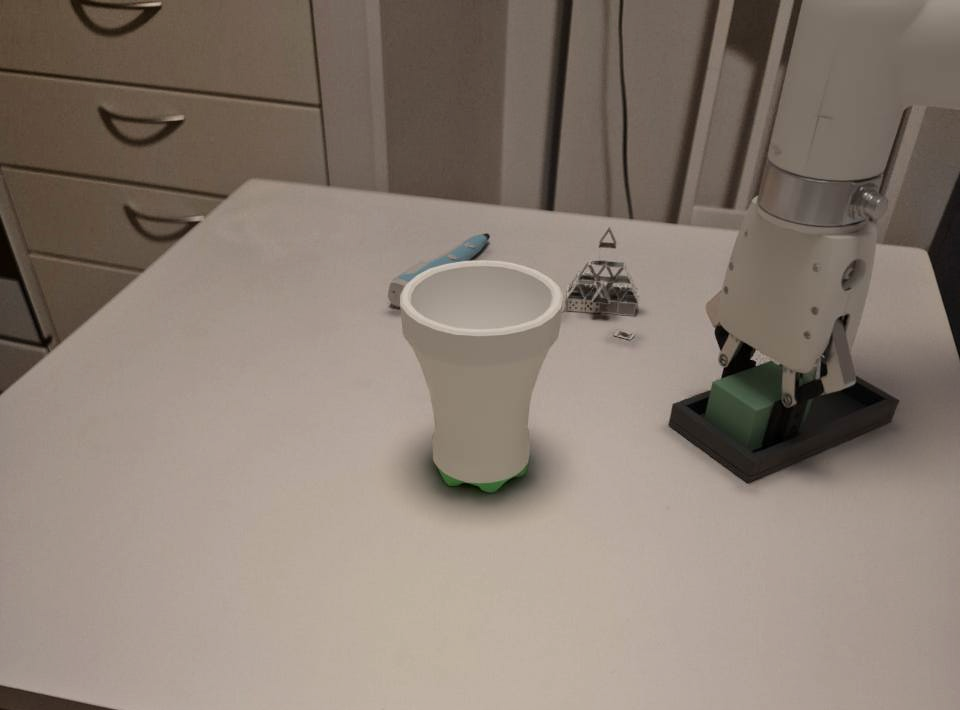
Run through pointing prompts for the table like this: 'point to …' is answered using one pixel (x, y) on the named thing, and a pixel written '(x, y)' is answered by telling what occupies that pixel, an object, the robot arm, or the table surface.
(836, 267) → the robot arm
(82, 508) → the table surface
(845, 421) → the tray
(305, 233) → the table surface
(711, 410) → the green block
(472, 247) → the blue elongated piece
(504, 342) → the cup
